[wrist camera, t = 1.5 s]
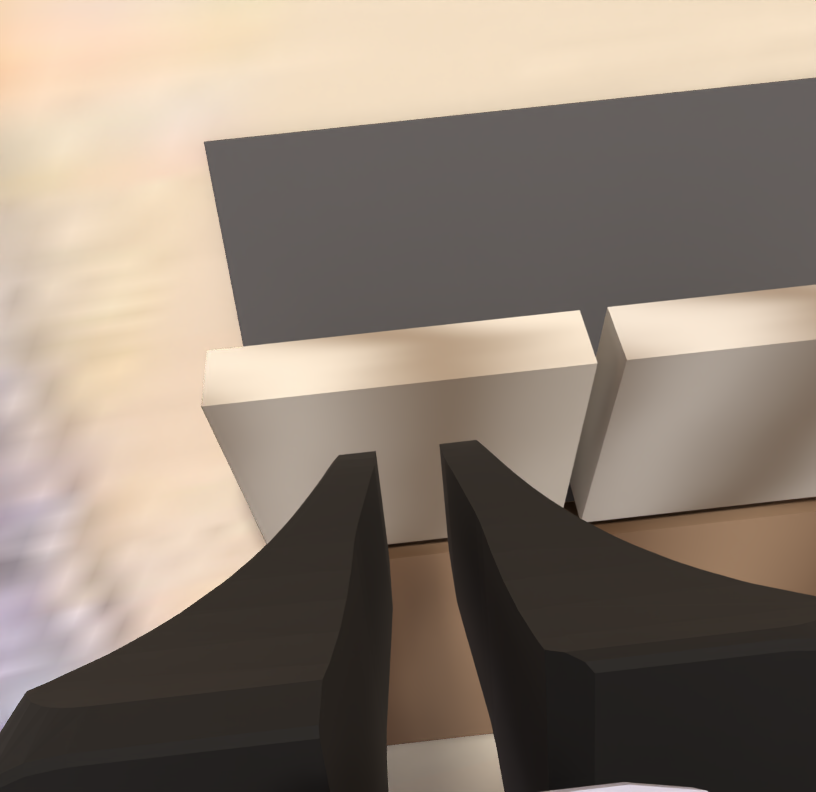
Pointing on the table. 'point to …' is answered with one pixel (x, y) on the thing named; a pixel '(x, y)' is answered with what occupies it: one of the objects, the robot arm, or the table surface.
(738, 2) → the table surface
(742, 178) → the gray rectangular panel
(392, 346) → the plank
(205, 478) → the table surface
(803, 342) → the plank
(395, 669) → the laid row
